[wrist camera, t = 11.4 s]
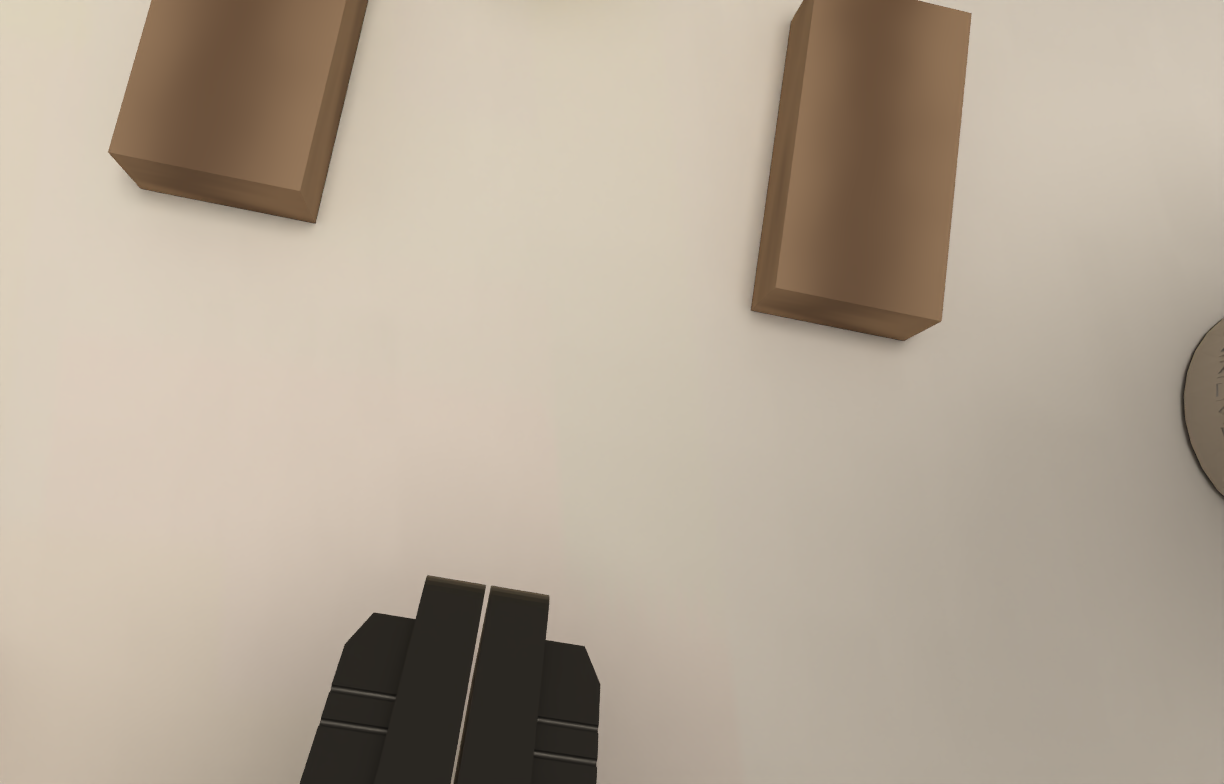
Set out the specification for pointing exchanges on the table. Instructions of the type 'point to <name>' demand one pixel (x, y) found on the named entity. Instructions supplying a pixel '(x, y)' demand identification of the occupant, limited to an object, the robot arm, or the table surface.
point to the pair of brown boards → (800, 169)
